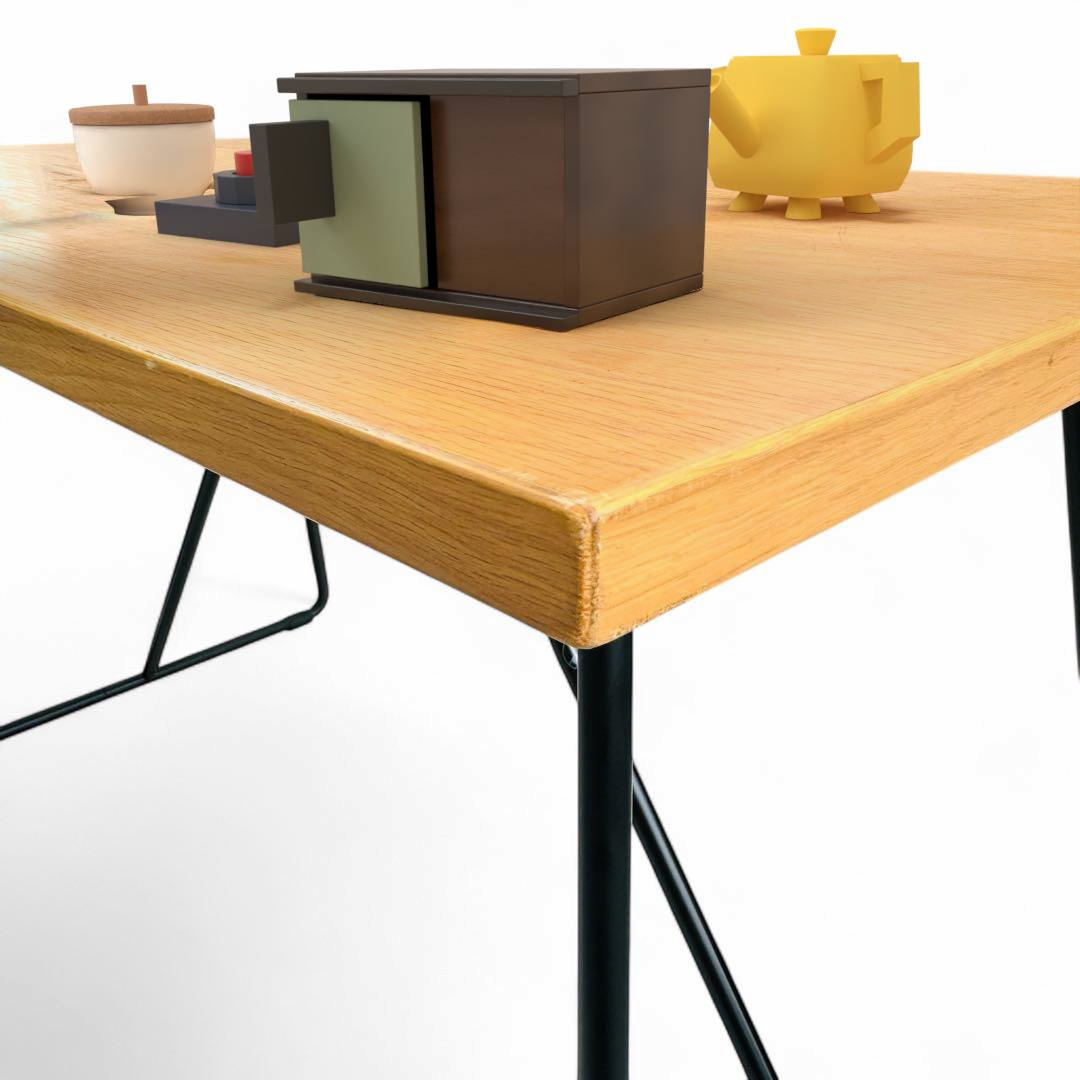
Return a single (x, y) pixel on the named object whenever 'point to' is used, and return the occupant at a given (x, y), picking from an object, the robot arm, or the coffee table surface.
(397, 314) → the coffee table surface
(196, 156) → the trinket box
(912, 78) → the teapot
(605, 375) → the coffee table surface
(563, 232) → the cupboard
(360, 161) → the sliding door
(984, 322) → the coffee table surface
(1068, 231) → the coffee table surface
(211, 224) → the control block
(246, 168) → the button
